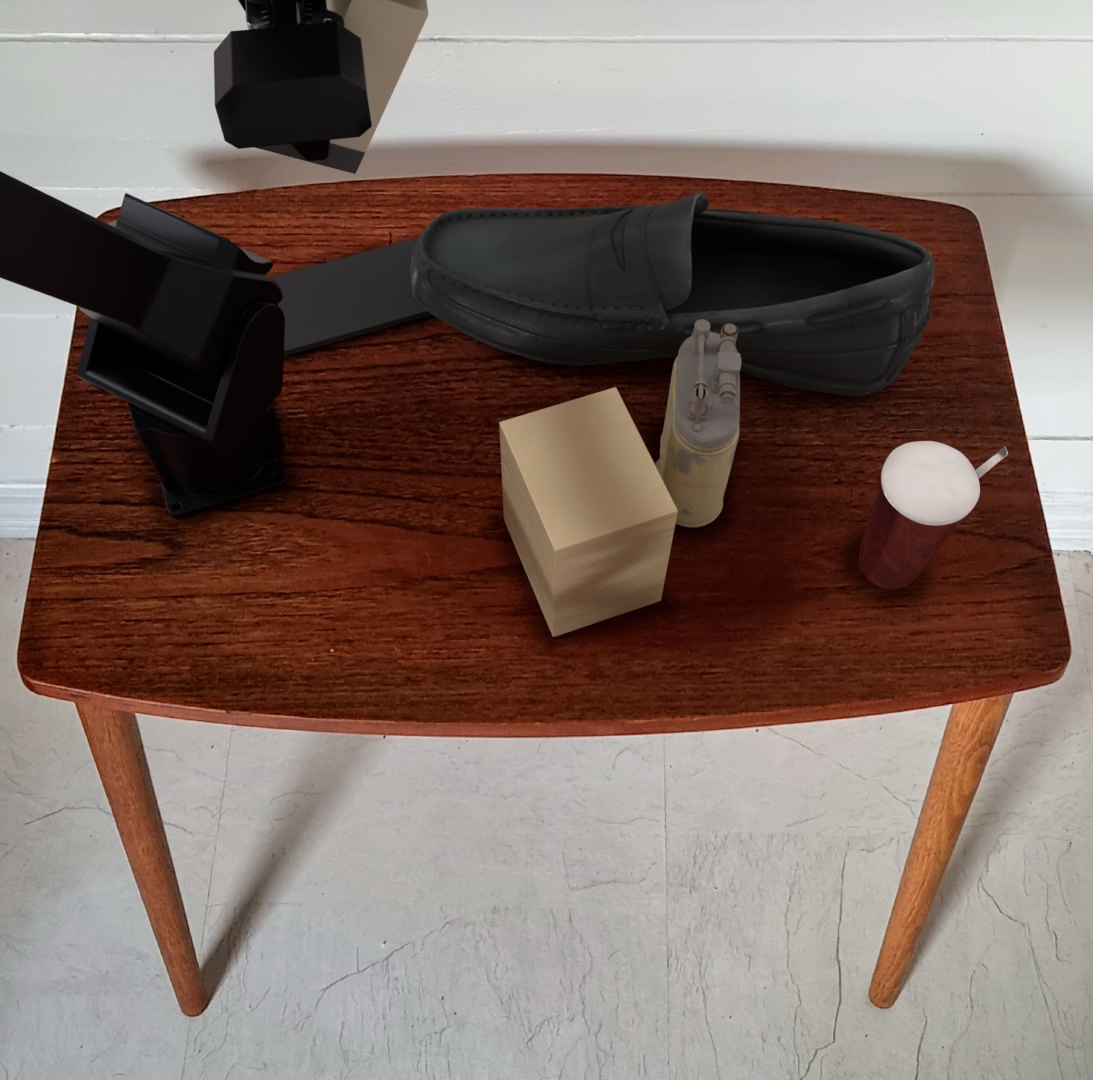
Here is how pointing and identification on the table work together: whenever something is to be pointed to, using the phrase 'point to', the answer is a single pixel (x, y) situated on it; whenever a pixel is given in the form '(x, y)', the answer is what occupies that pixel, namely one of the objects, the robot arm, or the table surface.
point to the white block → (372, 66)
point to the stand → (586, 510)
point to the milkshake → (917, 509)
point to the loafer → (680, 288)
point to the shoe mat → (348, 297)
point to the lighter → (701, 423)
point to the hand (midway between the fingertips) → (315, 128)
